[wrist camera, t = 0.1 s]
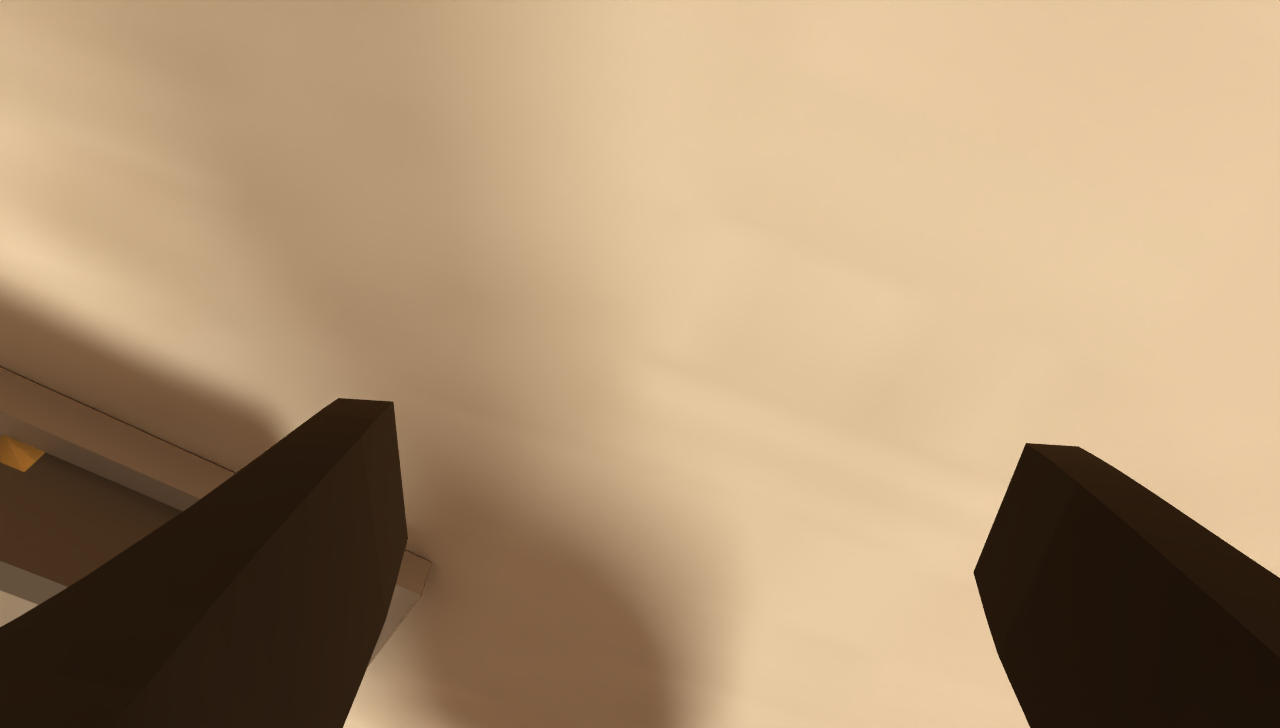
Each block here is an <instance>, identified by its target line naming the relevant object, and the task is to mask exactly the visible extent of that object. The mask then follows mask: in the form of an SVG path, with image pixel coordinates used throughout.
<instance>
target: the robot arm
mask: <svg viewBox="0 0 1280 728" xmlns="http://www.w3.org/2000/svg"><path fill="white" fill-rule="evenodd" d="M407 539H408V537H407V527H406V518H405V508H404V499H403V489H402V480H401V470H400V461H399V451H398V442H397V432H396V423H395V413H394V404H393V402H389V401H373V400H358V399H343V398H338V399H337V400H335V401H334V402H332V403H331V404H329V405H328V406H326V407H325V408H324V409H322V410H321V411H319V412H318V413H317V414H315V415H314V416H313V417H311V418H310V419H308V420H307V421H306V422H304V423H303V424H302V425H300V426H299V427H298V428H296V429H295V430H294V431H292V432H291V433H290V434H288V435H287V436H286V437H284V438H283V439H282V440H280V441H279V442H278V443H276V444H275V445H274V446H272V447H271V448H270V449H268V450H267V451H266V452H264V453H263V454H262V455H260V456H259V457H258V458H256V459H255V460H254V461H252V462H251V463H249V464H248V465H247V466H245V467H244V468H243V469H241V470H240V471H238V472H237V473H236V474H234V475H233V476H232V477H230V478H229V479H227V480H226V481H225V482H223V483H222V484H221V485H219V486H218V487H216V488H215V489H214V490H212V491H211V492H210V493H208V494H207V495H205V496H204V497H203V498H201V499H200V500H199V501H197V502H196V503H194V504H193V505H192V506H190V507H189V508H187V509H186V510H184V511H183V512H181V513H180V514H178V515H177V516H175V517H174V518H172V519H171V520H169V521H168V522H166V523H165V524H163V525H162V526H160V527H159V528H157V529H156V530H154V531H153V532H151V533H150V534H148V535H147V536H145V537H144V538H142V539H141V540H139V541H138V542H136V543H135V544H133V545H132V546H130V547H129V548H127V549H126V550H124V551H123V552H121V553H120V554H118V555H117V556H115V557H114V558H112V559H111V560H109V561H108V562H106V563H105V564H103V565H102V566H100V567H99V568H97V569H96V570H94V571H93V572H91V573H90V574H88V575H87V576H85V577H83V578H82V579H80V580H79V581H77V582H75V583H74V584H72V585H71V586H69V587H67V588H66V589H64V590H63V591H61V592H59V593H58V594H56V595H54V596H53V597H51V598H49V599H48V600H46V601H44V602H43V603H41V604H39V605H38V606H36V607H34V608H33V609H31V610H29V611H28V612H26V613H24V614H23V615H21V616H19V617H17V618H16V619H14V620H12V621H10V622H9V623H7V624H5V625H3V626H2V627H0V728H343V726H344V723H345V721H346V718H347V716H348V713H349V711H350V709H351V706H352V704H353V701H354V699H355V696H356V694H357V691H358V689H359V686H360V684H361V681H362V679H363V676H364V674H365V671H366V669H367V666H368V664H369V661H370V659H371V656H372V654H373V651H374V649H375V646H376V644H377V641H378V639H379V636H380V634H381V631H382V629H383V626H384V623H385V621H386V618H387V614H388V611H389V607H390V604H391V600H392V596H393V593H394V589H395V586H396V582H397V578H398V574H399V570H400V566H401V562H402V558H403V555H404V551H405V547H406V543H407ZM974 576H975V579H976V583H977V587H978V590H979V594H980V597H981V601H982V604H983V608H984V612H985V615H986V619H987V622H988V625H989V628H990V631H991V634H992V637H993V640H994V644H995V647H996V650H997V653H998V655H999V658H1000V660H1001V662H1002V665H1003V667H1004V669H1005V672H1006V674H1007V676H1008V679H1009V681H1010V683H1011V685H1012V688H1013V690H1014V692H1015V694H1016V697H1017V699H1018V701H1019V703H1020V705H1021V708H1022V710H1023V712H1024V714H1025V717H1026V719H1027V721H1028V723H1029V726H1030V728H1280V578H1279V577H1277V576H1276V575H1274V574H1273V573H1271V572H1270V571H1268V570H1267V569H1265V568H1264V567H1262V566H1261V565H1259V564H1258V563H1256V562H1255V561H1253V560H1252V559H1250V558H1249V557H1247V556H1246V555H1244V554H1243V553H1241V552H1240V551H1238V550H1237V549H1235V548H1234V547H1233V546H1231V545H1230V544H1228V543H1227V542H1225V541H1224V540H1222V539H1221V538H1219V537H1218V536H1216V535H1215V534H1213V533H1212V532H1210V531H1209V530H1207V529H1206V528H1204V527H1203V526H1201V525H1200V524H1199V523H1197V522H1196V521H1194V520H1193V519H1191V518H1190V517H1188V516H1187V515H1185V514H1184V513H1182V512H1181V511H1179V510H1178V509H1176V508H1175V507H1173V506H1172V505H1170V504H1169V503H1168V502H1166V501H1165V500H1163V499H1162V498H1160V497H1159V496H1157V495H1156V494H1154V493H1153V492H1151V491H1150V490H1148V489H1147V488H1145V487H1144V486H1142V485H1141V484H1139V483H1137V482H1136V481H1134V480H1133V479H1131V478H1130V477H1128V476H1127V475H1125V474H1124V473H1122V472H1121V471H1119V470H1117V469H1116V468H1114V467H1113V466H1111V465H1109V464H1108V463H1106V462H1104V461H1103V460H1101V459H1099V458H1098V457H1096V456H1094V455H1093V454H1091V453H1089V452H1087V451H1085V450H1084V449H1082V448H1080V447H1076V446H1061V445H1046V444H1031V443H1026V445H1025V447H1024V449H1023V452H1022V454H1021V457H1020V459H1019V462H1018V464H1017V467H1016V469H1015V472H1014V474H1013V476H1012V479H1011V481H1010V484H1009V486H1008V489H1007V491H1006V494H1005V496H1004V499H1003V501H1002V503H1001V506H1000V508H999V511H998V513H997V516H996V518H995V521H994V523H993V526H992V528H991V530H990V533H989V535H988V538H987V540H986V543H985V545H984V548H983V550H982V553H981V555H980V557H979V560H978V562H977V565H976V567H975V570H974Z"/></svg>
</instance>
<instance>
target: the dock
mask: <svg viewBox="0 0 1280 728" xmlns="http://www.w3.org/2000/svg"><path fill="white" fill-rule="evenodd" d="M234 474H235V473H233V472H231V471H229V470H226V469H224V468H222V467H220V466H218V465H215V464H213V463H211V462H209V461H207V460H204V459H202V458H200V457H198V456H195V455H193V454H191V453H189V452H187V451H184V450H182V449H180V448H178V447H176V446H173V445H171V444H169V443H167V442H165V441H162V440H160V439H158V438H156V437H154V436H151V435H149V434H147V433H145V432H142V431H140V430H138V429H136V428H134V427H131V426H129V425H127V424H125V423H123V422H120V421H118V420H116V419H114V418H112V417H109V416H107V415H105V414H103V413H101V412H98V411H96V410H94V409H92V408H89V407H87V406H85V405H83V404H81V403H78V402H76V401H74V400H72V399H70V398H67V397H65V396H63V395H61V394H59V393H56V392H54V391H52V390H50V389H48V388H45V387H43V386H41V385H39V384H37V383H34V382H32V381H30V380H28V379H25V378H23V377H21V376H19V375H17V374H14V373H12V372H10V371H8V370H6V369H3V368H1V367H0V627H2V626H3V625H5V624H7V623H9V622H10V621H12V620H14V619H16V618H17V617H19V616H21V615H23V614H24V613H26V612H28V611H29V610H31V609H33V608H34V607H36V606H38V605H39V604H41V603H43V602H44V601H46V600H48V599H49V598H51V597H53V596H54V595H56V594H58V593H59V592H61V591H63V590H64V589H66V588H67V587H69V586H71V585H72V584H74V583H75V582H77V581H79V580H80V579H82V578H83V577H85V576H87V575H88V574H90V573H91V572H93V571H94V570H96V569H97V568H99V567H100V566H102V565H103V564H105V563H106V562H108V561H109V560H111V559H112V558H114V557H115V556H117V555H118V554H120V553H121V552H123V551H124V550H126V549H127V548H129V547H130V546H132V545H133V544H135V543H136V542H138V541H139V540H141V539H142V538H144V537H145V536H147V535H148V534H150V533H151V532H153V531H154V530H156V529H157V528H159V527H160V526H162V525H163V524H165V523H166V522H168V521H169V520H171V519H172V518H174V517H175V516H177V515H178V514H180V513H181V512H183V511H184V510H186V509H187V508H189V507H190V506H192V505H193V504H194V503H196V502H197V501H199V500H200V499H201V498H203V497H204V496H205V495H207V494H208V493H210V492H211V491H212V490H214V489H215V488H216V487H218V486H219V485H221V484H222V483H223V482H225V481H226V480H227V479H229V478H230V477H232V476H233V475H234ZM431 563H432V562H430V561H427V560H425V559H423V558H421V557H419V556H416V555H414V554H412V553H410V552H407V551H404V555H403V558H402V562H401V566H400V570H399V574H398V578H397V582H396V586H395V589H394V593H393V596H392V600H391V604H390V607H389V611H388V614H387V618H386V621H385V623H384V626H383V629H382V631H381V634H380V636H379V639H378V641H377V644H376V646H375V649H374V651H373V654H372V656H371V659H370V661H369V664H370V663H371V662H372V660H373V659H374V658H375V656H376V655H377V654H378V652H379V651H380V650H381V648H382V647H383V646H384V644H385V643H386V642H387V640H388V639H389V638H390V636H391V635H392V634H393V632H394V631H395V630H396V628H397V627H398V626H399V624H400V623H401V622H402V620H403V619H404V618H405V616H406V615H407V614H408V612H409V611H410V610H411V608H412V607H413V606H414V604H415V603H416V602H417V600H418V599H419V598H420V596H421V594H422V591H423V588H424V585H425V582H426V579H427V576H428V573H429V569H430V566H431ZM369 664H368V666H369ZM368 666H367V667H368Z"/></svg>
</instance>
